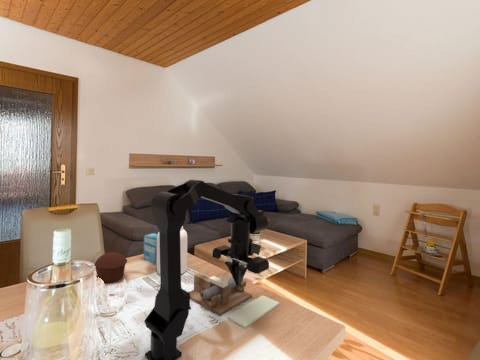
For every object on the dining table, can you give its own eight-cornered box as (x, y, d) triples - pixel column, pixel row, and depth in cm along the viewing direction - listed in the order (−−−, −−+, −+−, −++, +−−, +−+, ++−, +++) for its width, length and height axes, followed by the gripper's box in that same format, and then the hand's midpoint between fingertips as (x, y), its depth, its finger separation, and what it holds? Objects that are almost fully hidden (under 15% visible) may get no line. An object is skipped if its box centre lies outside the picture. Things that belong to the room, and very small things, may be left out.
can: (171, 280, 105) (172, 230, 103) (150, 272, 112) (150, 225, 110) (192, 269, 116) (193, 224, 114) (172, 262, 122) (172, 219, 121)
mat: (279, 304, 90) (279, 302, 90) (245, 328, 76) (245, 326, 76) (262, 296, 95) (262, 295, 95) (227, 318, 81) (227, 316, 81)
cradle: (252, 297, 94) (252, 279, 94) (219, 316, 82) (219, 296, 81) (218, 281, 105) (219, 265, 105) (184, 296, 93) (185, 278, 92)
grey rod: (244, 283, 97) (245, 275, 97) (207, 302, 84) (207, 293, 84) (238, 281, 100) (238, 272, 99) (200, 299, 86) (200, 289, 86)
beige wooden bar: (227, 285, 88) (228, 275, 87) (223, 288, 86) (223, 277, 86) (213, 279, 92) (213, 269, 92) (208, 281, 91) (209, 271, 90)
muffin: (87, 282, 101) (87, 256, 100) (110, 270, 111) (110, 247, 111) (112, 287, 97) (112, 261, 96) (133, 275, 108) (133, 251, 107)
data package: (143, 259, 125) (143, 234, 124) (151, 256, 129) (151, 232, 128) (161, 265, 118) (161, 239, 118) (168, 262, 122) (169, 237, 121)
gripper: (280, 237, 82) (277, 286, 83) (235, 225, 94) (233, 268, 95) (258, 245, 73) (256, 299, 75) (212, 231, 86) (210, 278, 87)
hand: (238, 285), depth 83 cm, fingers closed
